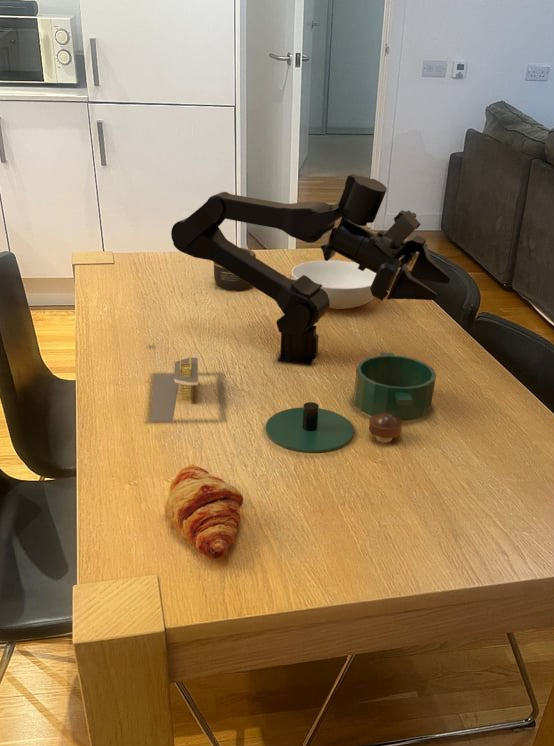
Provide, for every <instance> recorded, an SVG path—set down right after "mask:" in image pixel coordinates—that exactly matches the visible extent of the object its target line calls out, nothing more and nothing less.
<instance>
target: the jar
mask: <svg viewBox="0 0 554 746" xmlns="http://www.w3.org/2000/svg"><path fill="white" fill-rule="evenodd" d="M240 248H241V249H242V250H244V251H246V252H247V253H249V254H250V255H252V256H254V257H255V258H257V255H256V252H254V250H252V249H249V248H245V247H240ZM212 263H213V279H214V283H215V285H216V286H217V288H220V289H222V290H224V291H230V292H242V291H247V290H249V289H251V288H253V286H252V285H250V284H248V283H247V282H245V281H244V280H242V279H240V278H239V277H237V276H236V275H234V274H233V273H231V272H229V271H228V270H226V269H225V268H223V267H221V266H220V265H218V264H217V263H215V262H213V261H212Z"/></svg>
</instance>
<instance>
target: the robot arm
mask: <svg viewBox="0 0 554 746" xmlns="http://www.w3.org/2000/svg"><path fill="white" fill-rule="evenodd" d="M387 191H388V188H387V186H386V185H385V184H383V183H382V182H381V181H379V180H377V179H375V178H370V177H366V176H363V175H362V176H361V175H357V174H355V173H350V174H349V175H347V177H346V179H345V184H344V188H343V191H342V194H341V197H340V199H339V201H338V202H336V203H333V204H329V203H328V202H324V201H302V202H294V203H284V202H278V201H272V200H267V199H260V198H254V197H249V196H243V195H238V194H232V193H230V192H228V191H221V192H218V193H215V194H213V195H211V196H209V197H208V199H207V200H206V202H205V203H203V204H202V205H201V206H200V207H199V208H198V209H196V210H195V211H193V212H192V213H191V214H190V215H189V216H188V217H185V218H184V219H181V220H179V221H177V222H175V223H174V224H173V226H172V227H171V231H170V235H171V240H172V244H173V246H174V247H175V249H176V250H178V251H179V252H181V253H182V254H185V255H188V256H190V257H193V258H196V259H201V260H206V261H212V263H213V262H215V263H217V264H218V265H220V266H221V267H223V268H225V269H226V270H228V271H229V272H231V273H233V274H234V275H236V276H237V277H239V278H240V279H242V280H244V281H245V282H247V283H248V284H250V285H252V288H255V289H256V290H258V291H260V292H261V293H263V294H264V295H266V296H267V297H269V298H271V299H272V300H273V301H274V302H276V304H277V306H278V307H279V308H280V311H281V312H282V313H283V315H282V316H281V317H280V318H278V319H276V326H277V327H276V328H277V329H278V332H279V333H280V353H279V356H278V357H277V361H278V362H280V363H282V362H283V363H289V364H296V365H306V366H311V365H312V364H313V361H314V360H315V359H316V358H317V356H318V354H319V338H320V337H319V333H317V325H315V324H318V323H319V321H320V319H321V318H323V317H324V316H325V315H326V314H327V313H328V311H329V309H330V308H329V306H330V301H329V298H328V294H327V293H326V292H325V291H324V290H323V289H321V287H322V285H321V284H317V283H315V282H313V281H312V280H311V279H310V278H308V277H307V276H305V275H303V276H301V277H300V278H299V279H297V280H292V278H289V277H287V276H285V274H284V275H283V274H282V273H281V272H279V271H277V270H276V269H274V268H273V267H271V266H269V265H268V264H267V263H265V262H263V261H262V260H260V259H258V258H257V257H256V258H255V257H254V256H252V255H250V254H249V253H247V252H246V251H244V250H242V249H241V248H242V247H239V246H238V245H236V244H234V243H233V242H231V241H229V240H228V239H227V238H226V236H225V234H224V232H222V230H221V228H220V226H221V225H222V224H223V223H224V221H225V220H229V221H235V222H240V223H246V224H250V225H251V224H252V225H258V226H262V227H268V228H273V229H278V230H280V231H282V232H284V233H285V234H287V236H290V237H292V238H294V239H297V240H300V241H302V242H305V243H308V244H311V243H316V242H318V241H320V240H321V239H323V238H324V237H325V236H327V235H328V234H330V235H329V237H328V239H327V242H325V243H323V244H322V245H320V249H321V251H322V255H323V260H325V261H328V260H332V259H333V258H334V257H335V256H336V254H338V255H340V256H342V257H344V258H346V259H348V260H349V261H350V262H354V263H357V264H359V267H358V269H359V270H361V271H364V270H365V269H366V268H367V269H369V270H370V271H372V272H374V273H376V276H375V278H374V280H373V283H372V285H371V287H370V290H371V293H372V295H373V296H374V298H375V299H377V300H380V301H382V302H383V301H384V300H385V299H386V300H388V301H391V300H419V301H420V300H421V301H435V300H436V298H437V296H438V294H437V292H435V291H434V290H433V289H431V288H430V287H429V286H427V285H425V284H424V283H423V282H421V281H420V280H422V281H428V282H434V283H439V284H449V282H450V281H451V276H449V275H448V274H447V273H446V272H445V271H444V270H443V268H441V266H440V265H438V264H437V262H435V261H434V260H433V258H432V257H430V253H429V250H428V247H429V246H428V243H427V239H426V238H424V237H422V236H420V235H418V234H416V235H413V236H411V234H412V233H414V232H415V230H417V229H419V227H420V226H421V222H420V221H419V220H418V219H417V213H415V212H411V211H410V210H407V211H406V210H403V209H401V210H400V211H399V212H398V213H397V215H395V216H394V217H393V221H394V223H393V225H392V226H390V228H389V229H388V230H387V231H386V232H385V231H383V230H380V231H377V232H376V233H374V232H373V231H371V230H370V229H369V230H368V229H366V228H365V227H366V226H367V224H373V223H374V222H375V220H376V218H377V215H378V213H379V211H380V208H381V205H382V204H383V200H384V198H385V196H386V193H387ZM339 219H340V221H339V223H338V226H337V227H335V225H336V222H337V221H338V220H339ZM409 236H411V237H409ZM408 237H409V238H408ZM407 238H408V239H407ZM405 240H406V241H405Z"/></svg>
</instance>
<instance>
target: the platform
mask: <svg viewBox="0 0 554 746" xmlns="http://www.w3.org/2000/svg"><path fill="white" fill-rule="evenodd" d="M198 359H199V358H197V357H192V354H189V355H188V357H186V358H183V359H182V358H180V359H179V360H177V361H174V370H173V373H167V374H166V373H163V374H162V373H161V374H158V373H157V374H156V373H155V374H154V375H153V386H152V394H151V395H152V396H151V405H150V418H149V422H150V423H152V422H153V423H154V422H155V423H156V422H157V423H158V422H159V423H160V422H161V423H162V422H174V415H175V410H176V405H177V404H176V403H177V397H178V393H179V385H180V392H181V401H191V405H193V403H194V399H193V398H194V396H193V395H194V392H193V391H194V390H193V388H194V386H198V385H199V362H198Z"/></svg>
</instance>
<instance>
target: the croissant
mask: <svg viewBox="0 0 554 746" xmlns="http://www.w3.org/2000/svg"><path fill="white" fill-rule="evenodd" d="M243 503H244V496H243V494H242V493H241V491H239V489H238V488H237V487H235V486H234V485H232V484H229V483H227V482H226V481H225V480H223V479H222V478H220V477H218V476H216V475H214V474H211V473H209V472H208V471H207V470H206V469H204V468H203V467H200V466H197V465H196V464H194V463H191V464H190V465H188V466H185V467H182V468H181V469H180V470H179V471H178V474H176V476H175V477H174V478H173V479H172V480H171V483H170V486H169V496H168V497H167V499H166V502H165V505H164V513H165V515H166V516H167V518H168V519H169V520H171V523H172V526H173V528H174V530H175V531H176V532H177V533H178V534H179V535H180V536H181V537H182V538H184V539H185V540H186V541H187V542H188V543H190V544H191V545H192V546H193V547H194V548H195V549H196V550H197V551H198V552H199V553H200V554H202V555H204V556H207V557H210V558H215V559H220V558H223V557H224V556H225V555H227V553H228V551H229V547H231V545H232V544H233V543H234V542H235V540H236V533H237V531H238V527H239V525H240V521H241V507H242V506H243Z"/></svg>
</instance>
